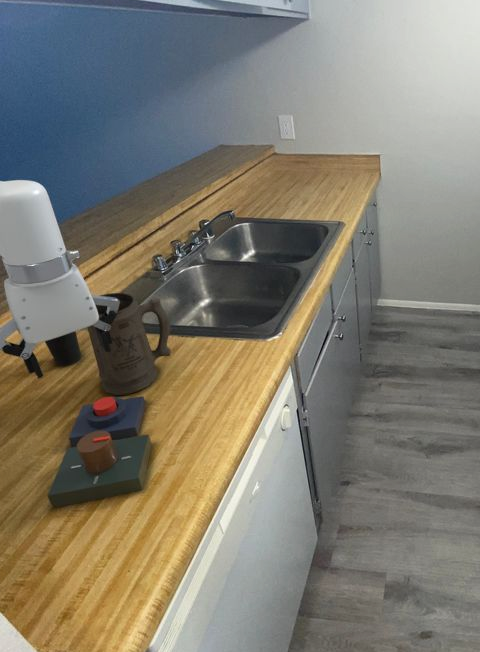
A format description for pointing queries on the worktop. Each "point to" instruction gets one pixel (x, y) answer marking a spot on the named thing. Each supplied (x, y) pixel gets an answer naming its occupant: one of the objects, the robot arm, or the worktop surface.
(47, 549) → the worktop surface
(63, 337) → the drinking cup
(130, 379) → the beer stein
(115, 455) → the knob
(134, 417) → the button box
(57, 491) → the panel
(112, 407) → the button
